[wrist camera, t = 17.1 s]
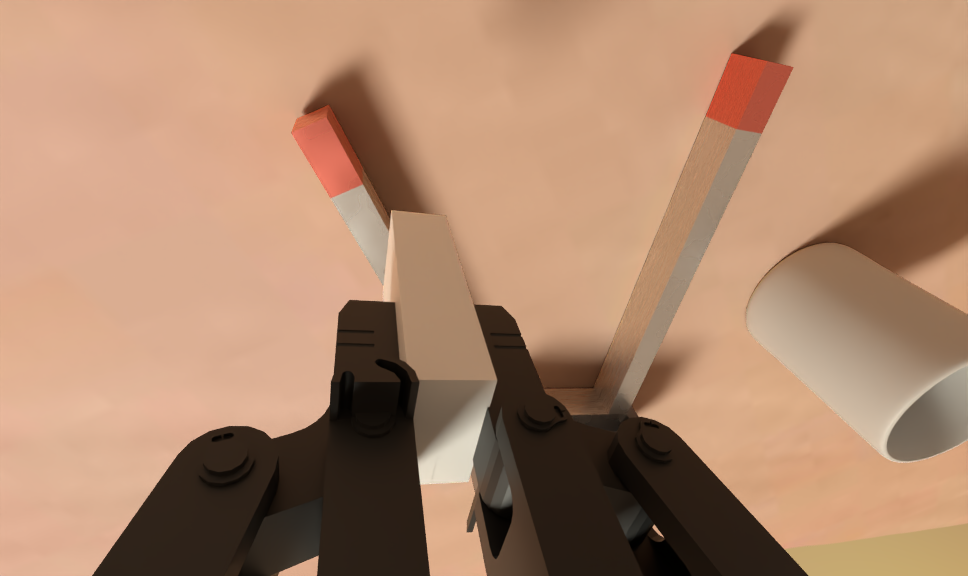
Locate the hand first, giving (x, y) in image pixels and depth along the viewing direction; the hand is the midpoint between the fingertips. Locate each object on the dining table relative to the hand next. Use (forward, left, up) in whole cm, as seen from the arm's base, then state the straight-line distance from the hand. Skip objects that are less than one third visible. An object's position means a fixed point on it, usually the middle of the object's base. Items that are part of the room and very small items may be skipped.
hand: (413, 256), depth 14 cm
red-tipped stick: (+6, +1, -10) cm, 12 cm away
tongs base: (+7, +13, -11) cm, 18 cm away
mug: (+6, +31, -11) cm, 33 cm away
